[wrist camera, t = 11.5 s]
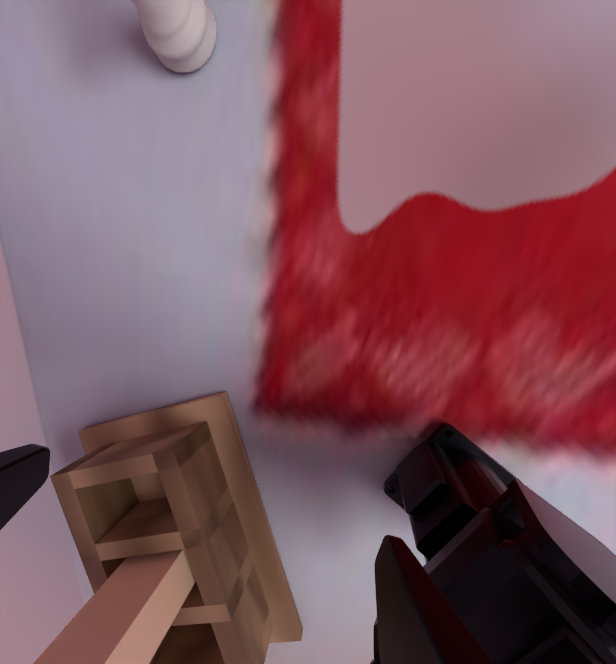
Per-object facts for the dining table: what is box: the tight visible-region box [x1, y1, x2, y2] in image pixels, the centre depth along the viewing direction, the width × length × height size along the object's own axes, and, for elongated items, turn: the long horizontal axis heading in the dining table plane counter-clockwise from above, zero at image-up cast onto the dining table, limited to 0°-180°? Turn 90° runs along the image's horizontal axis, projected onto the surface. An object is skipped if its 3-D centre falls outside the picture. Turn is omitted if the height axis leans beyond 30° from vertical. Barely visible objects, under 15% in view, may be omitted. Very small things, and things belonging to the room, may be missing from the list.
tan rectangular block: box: [34, 549, 196, 664], centre depth 17 cm, size 4×2×12 cm, turn 107°
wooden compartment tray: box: [50, 392, 303, 664], centre depth 21 cm, size 13×20×5 cm, turn 17°
